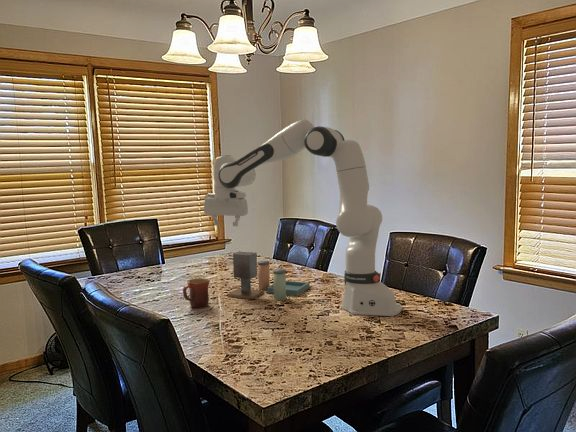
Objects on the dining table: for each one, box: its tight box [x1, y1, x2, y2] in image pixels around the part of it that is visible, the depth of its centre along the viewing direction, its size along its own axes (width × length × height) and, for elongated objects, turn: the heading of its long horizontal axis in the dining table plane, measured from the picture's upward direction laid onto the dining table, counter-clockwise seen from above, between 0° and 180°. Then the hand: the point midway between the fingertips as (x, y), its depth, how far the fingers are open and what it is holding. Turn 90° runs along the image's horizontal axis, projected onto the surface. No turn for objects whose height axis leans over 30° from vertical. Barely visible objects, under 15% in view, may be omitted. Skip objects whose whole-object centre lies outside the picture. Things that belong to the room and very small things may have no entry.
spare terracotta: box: [257, 260, 271, 290], centre depth 215 cm, size 5×5×12 cm
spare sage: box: [272, 268, 287, 301], centre depth 197 cm, size 5×5×12 cm
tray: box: [266, 280, 310, 297], centre depth 210 cm, size 14×14×2 cm
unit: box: [227, 251, 265, 301], centre depth 203 cm, size 12×10×18 cm
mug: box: [182, 277, 210, 309], centre depth 188 cm, size 12×9×10 cm
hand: (226, 225), depth 207 cm, fingers open, 8 cm apart
